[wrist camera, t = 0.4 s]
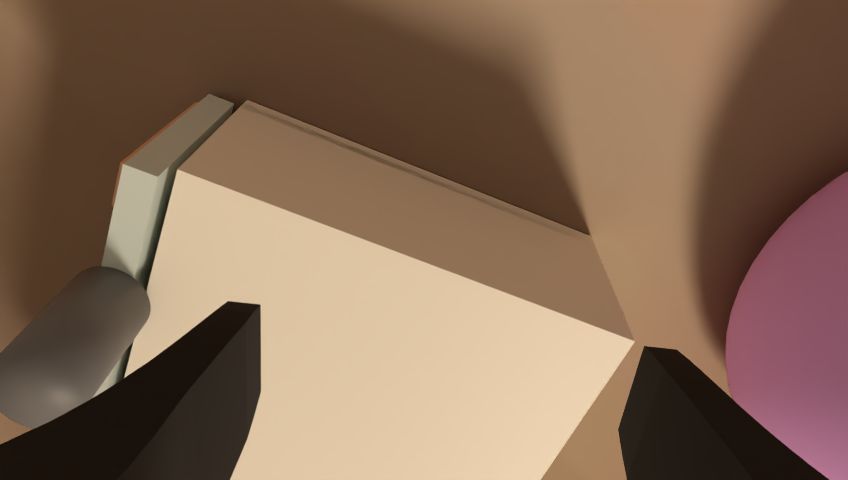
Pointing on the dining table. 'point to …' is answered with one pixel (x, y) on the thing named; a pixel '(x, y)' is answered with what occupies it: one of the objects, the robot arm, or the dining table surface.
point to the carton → (383, 308)
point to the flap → (104, 285)
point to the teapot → (798, 333)
